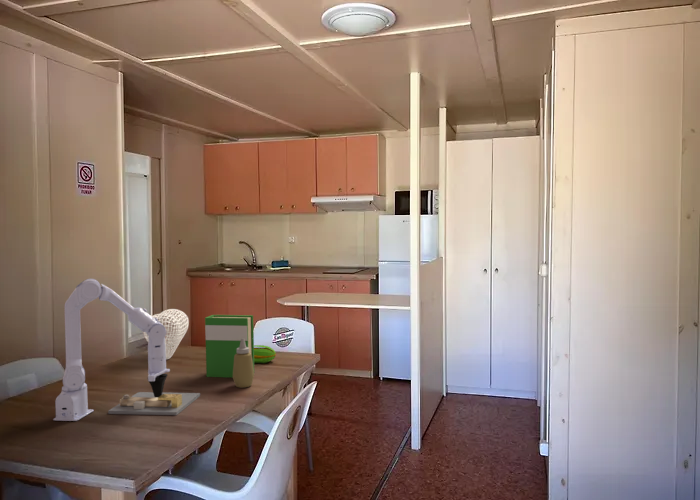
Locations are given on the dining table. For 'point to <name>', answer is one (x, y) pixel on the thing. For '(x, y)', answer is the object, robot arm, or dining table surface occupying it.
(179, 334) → the heart
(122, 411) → the base plate
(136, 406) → the block
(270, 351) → the pencil case
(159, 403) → the link
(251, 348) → the hardback book
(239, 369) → the squeeze bottle
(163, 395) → the keeper
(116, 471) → the dining table surface
